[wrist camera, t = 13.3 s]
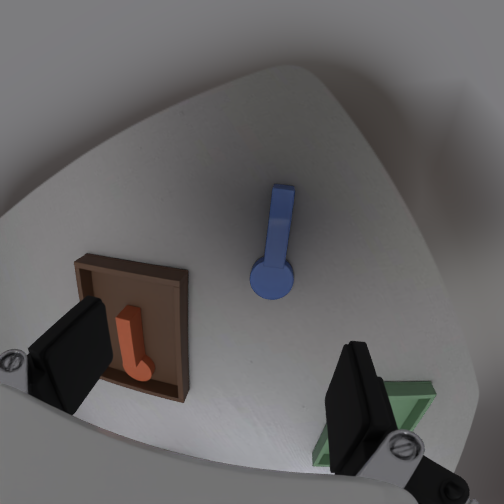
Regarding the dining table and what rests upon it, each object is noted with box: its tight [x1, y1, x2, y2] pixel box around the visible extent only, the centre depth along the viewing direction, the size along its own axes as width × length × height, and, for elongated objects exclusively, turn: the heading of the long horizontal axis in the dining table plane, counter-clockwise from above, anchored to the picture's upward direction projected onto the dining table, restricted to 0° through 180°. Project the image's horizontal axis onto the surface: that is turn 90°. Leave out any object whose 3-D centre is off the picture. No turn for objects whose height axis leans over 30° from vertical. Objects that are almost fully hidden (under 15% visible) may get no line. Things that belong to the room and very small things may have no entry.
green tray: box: [312, 381, 437, 467], centre depth 30 cm, size 15×11×2 cm
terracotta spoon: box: [116, 305, 155, 381], centre depth 29 cm, size 10×4×3 cm, turn 174°
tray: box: [74, 253, 189, 403], centre depth 28 cm, size 15×11×2 cm
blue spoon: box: [250, 184, 295, 300], centre depth 24 cm, size 10×4×3 cm, turn 174°
